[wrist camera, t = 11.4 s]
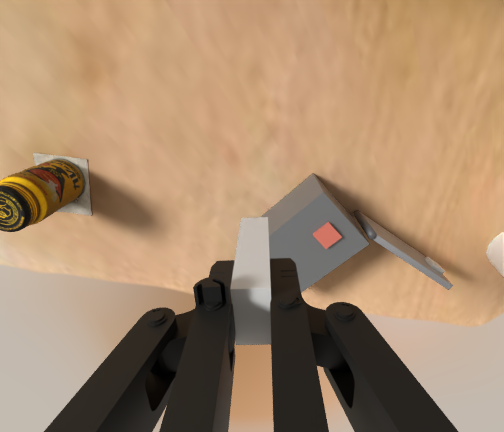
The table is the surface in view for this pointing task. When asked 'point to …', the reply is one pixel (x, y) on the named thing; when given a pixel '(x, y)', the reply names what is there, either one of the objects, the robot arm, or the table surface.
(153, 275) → the table surface
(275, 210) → the camera box
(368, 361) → the robot arm
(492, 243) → the foam cup
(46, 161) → the condiment
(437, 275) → the side door
